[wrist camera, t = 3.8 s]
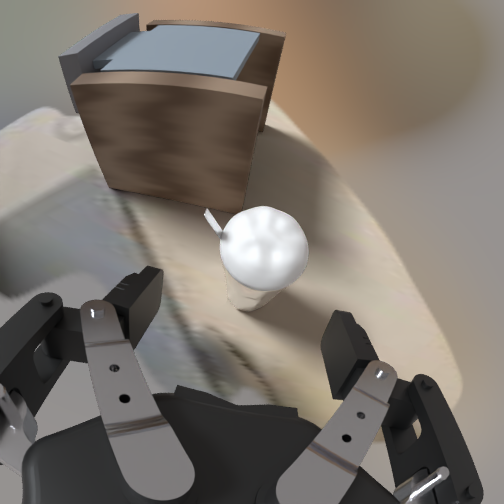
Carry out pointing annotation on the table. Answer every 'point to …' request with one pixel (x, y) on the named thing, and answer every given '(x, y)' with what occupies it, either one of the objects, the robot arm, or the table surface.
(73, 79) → the trapdoor
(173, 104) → the stand
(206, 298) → the table surface
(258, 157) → the table surface
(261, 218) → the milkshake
